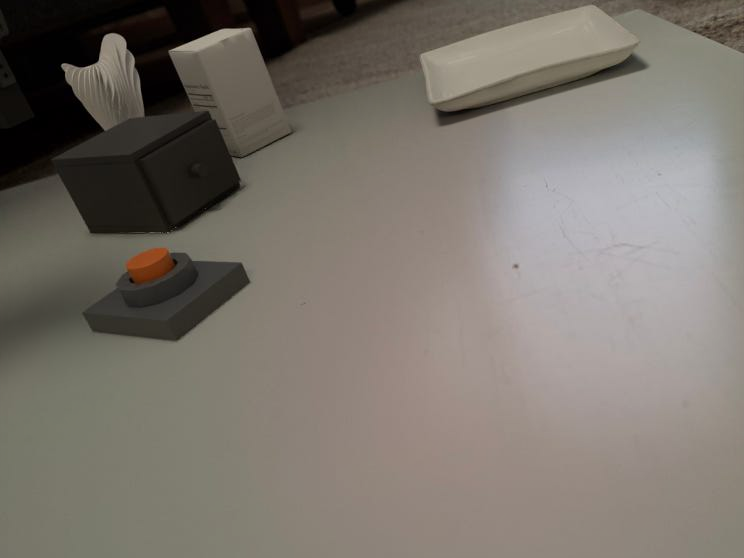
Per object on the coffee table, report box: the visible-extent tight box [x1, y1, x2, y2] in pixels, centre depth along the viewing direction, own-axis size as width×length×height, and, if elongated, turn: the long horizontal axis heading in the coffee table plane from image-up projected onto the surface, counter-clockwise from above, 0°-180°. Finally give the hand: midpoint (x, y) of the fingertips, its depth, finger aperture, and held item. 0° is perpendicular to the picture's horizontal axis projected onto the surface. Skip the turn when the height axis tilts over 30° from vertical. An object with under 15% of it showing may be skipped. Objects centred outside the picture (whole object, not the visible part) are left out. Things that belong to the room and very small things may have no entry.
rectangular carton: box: [167, 27, 292, 158], centre depth 118 cm, size 9×9×15 cm
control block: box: [81, 252, 251, 341], centre depth 79 cm, size 12×10×4 cm
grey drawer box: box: [50, 111, 241, 234], centre depth 103 cm, size 15×13×10 cm
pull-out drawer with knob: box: [138, 119, 242, 224], centre depth 102 cm, size 15×12×8 cm
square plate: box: [419, 4, 641, 112], centre depth 116 cm, size 27×27×4 cm
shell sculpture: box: [61, 32, 146, 131], centre depth 124 cm, size 8×8×18 cm
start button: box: [125, 247, 175, 284], centre depth 78 cm, size 4×4×2 cm
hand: (18, 122), depth 77 cm, fingers closed
